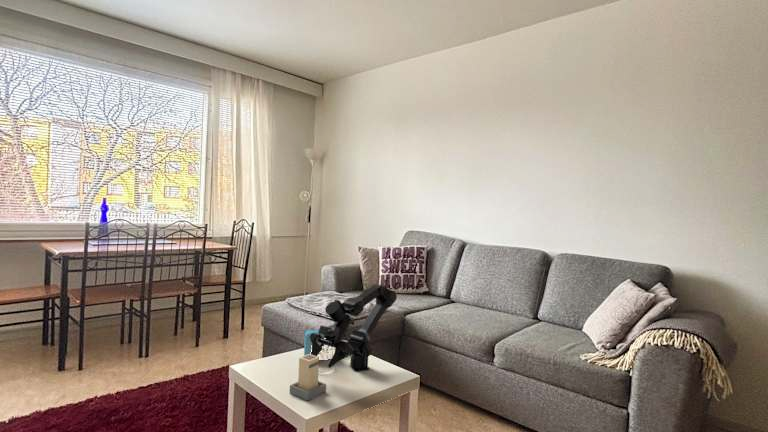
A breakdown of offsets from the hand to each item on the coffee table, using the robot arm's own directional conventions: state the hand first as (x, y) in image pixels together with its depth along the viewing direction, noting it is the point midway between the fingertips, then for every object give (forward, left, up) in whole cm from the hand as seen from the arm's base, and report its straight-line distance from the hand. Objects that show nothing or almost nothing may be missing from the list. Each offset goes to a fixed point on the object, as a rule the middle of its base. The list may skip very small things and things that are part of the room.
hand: (319, 364), depth 160 cm
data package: (-7, -28, -9) cm, 30 cm away
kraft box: (+5, +3, -8) cm, 10 cm away
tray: (+5, +3, -9) cm, 11 cm away
